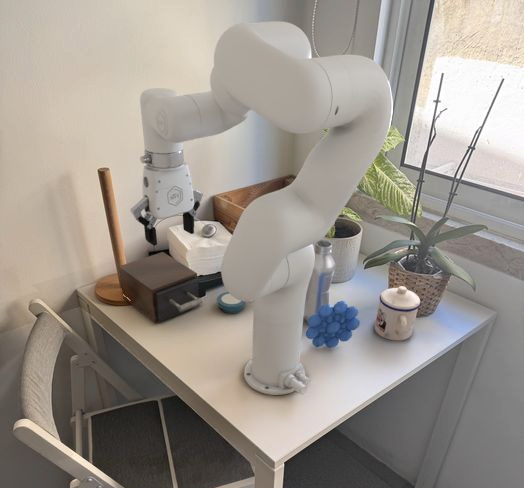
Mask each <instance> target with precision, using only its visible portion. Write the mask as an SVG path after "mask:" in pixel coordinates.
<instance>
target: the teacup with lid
mask: <svg viewBox="0 0 524 488" xmlns="http://www.w3.org/2000/svg"><path fill="white" fill-rule="evenodd" d="M420 306H421V300H420V297H419V296H418V294H416V293H415V292H413V291H412V290H409V289H408V288H407V287H406V286H403V285H400V286H398V287H391V288H387V289H384V290H383V291H382V292H381V293H380V295H379V303H378V307H377V314H376V319H375V324H374V330H375V332H376V333H377V334H378V335H379V336H380V337H382V338H384V339H386V340H390V341H395V342H397V341H398V342H399V341H405V340H407V339H409V338H410V337H411V336H412V334H413V330H414V326H415V322H416V318H417V314H418V311H419V308H420Z"/></svg>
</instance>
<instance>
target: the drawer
mask: <svg viewBox="0 0 524 488" xmlns="http://www.w3.org/2000/svg"><path fill="white" fill-rule="evenodd" d="M199 291H200V287H199V278H198V277H197V278H193V279H188V280H185V281H183V282H180V283H177V284H175V285H172V286H169V287H167V288H164V289H161V290H158V291H156V292H155V302H156V311H157V320H159V321H160V322H159V323H161V322H164V321H165V320H168V319H170V318H173V317H175V316H178V315H180V314H183V313H184V312H187V311H189V310H192V309H195V308H197V307H199V306H200V305H202V304H203V299H202V298H201V297H200V292H199Z"/></svg>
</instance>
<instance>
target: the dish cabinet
mask: <svg viewBox="0 0 524 488" xmlns="http://www.w3.org/2000/svg"><path fill="white" fill-rule="evenodd" d="M118 272H119V279H120V284H121V285H120V286H121V291H122V297H123V298H122V299H123V300H124V301H125V302H127V303H128V304H129V305H130V306H132V307H133V308H134V309H136V310H137V311H139V312H140V313H141V314H142V315H144V316H145V317H146V318H147V319H149V320H150V321H151V322H152V323H154V324H158V323H161V322H160V321H159V320H157V311H156V302H155V292H156V291H158V290H161V289H164V288H167V287H169V286H172V285H175V284H177V283H180V282H183V281H185V280H188V279H193V278H197V279H198V273H197V272H196V271H194V270H192V269H191V268H189V267H188V266H186V265H185V264H183V263H181V262H180V261H178V260H177V259H175V258H173V257H172V256H170V255H168V254H167V253H165V252H164V251H161V252H159V253H156V254H152V255H148V256H145V257H143V258H139V259H137V260H134V261H131V262H127V263H124V264H121V265H119V266H118ZM123 294H124V295H125V296H126V297H128V298H129V299H130V300H131V301H129V300H128V299H127V298H126V297H124V296H123Z"/></svg>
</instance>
